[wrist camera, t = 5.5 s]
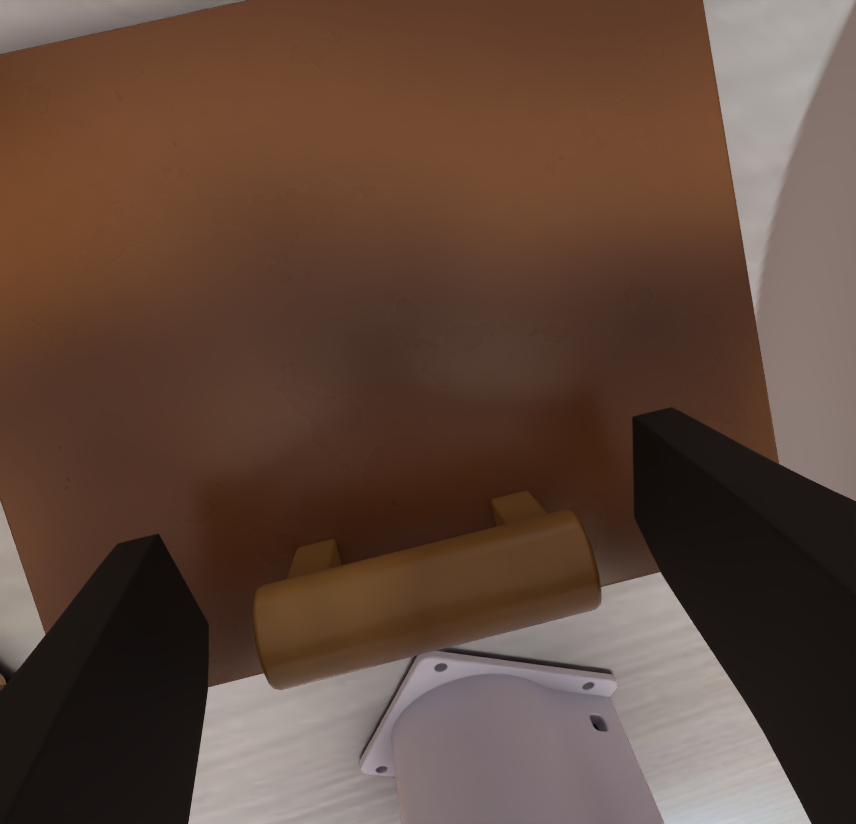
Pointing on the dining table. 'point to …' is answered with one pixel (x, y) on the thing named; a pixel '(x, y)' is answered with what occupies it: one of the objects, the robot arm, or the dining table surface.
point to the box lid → (363, 311)
